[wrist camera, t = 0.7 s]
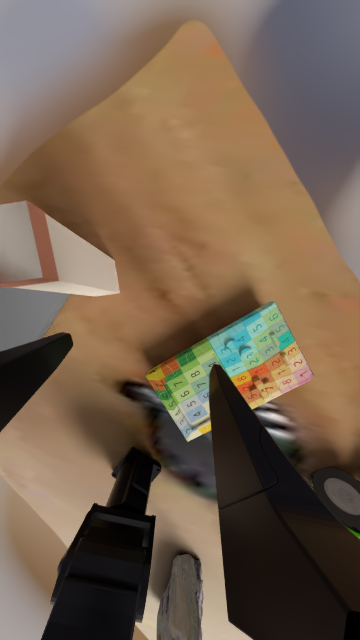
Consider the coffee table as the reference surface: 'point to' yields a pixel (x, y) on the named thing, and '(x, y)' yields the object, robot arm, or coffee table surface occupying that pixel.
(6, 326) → the mat
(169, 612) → the mineral rock
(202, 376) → the puzzle game
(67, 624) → the robot arm
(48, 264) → the card box
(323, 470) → the toy tractor
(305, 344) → the coffee table surface
